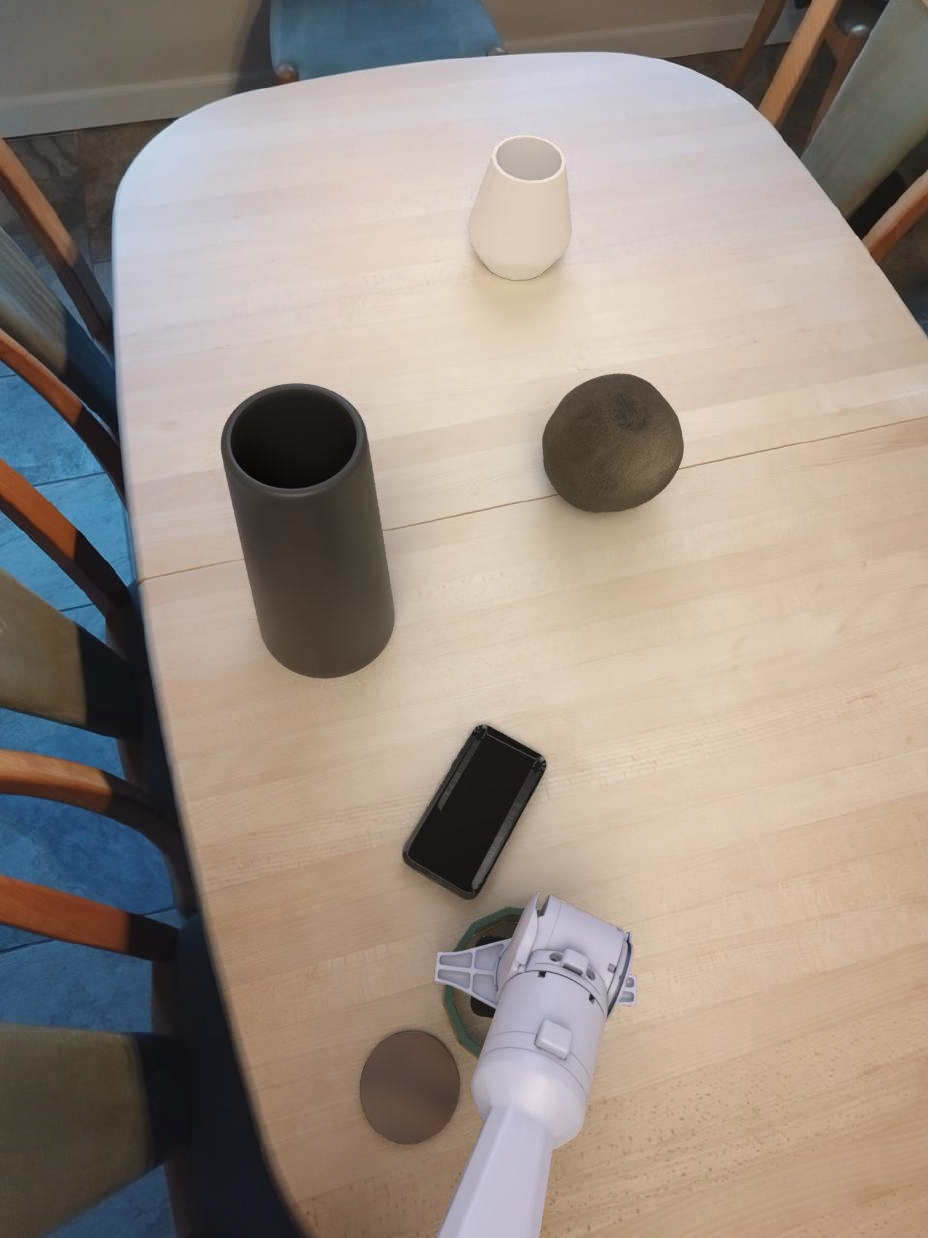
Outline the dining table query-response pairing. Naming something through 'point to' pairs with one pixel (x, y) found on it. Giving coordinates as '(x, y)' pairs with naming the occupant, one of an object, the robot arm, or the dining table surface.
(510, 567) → the dining table surface
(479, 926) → the green polygonal ring
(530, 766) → the phone
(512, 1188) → the robot arm
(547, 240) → the cup
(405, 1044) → the coaster
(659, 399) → the dark brown round lump
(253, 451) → the vase
